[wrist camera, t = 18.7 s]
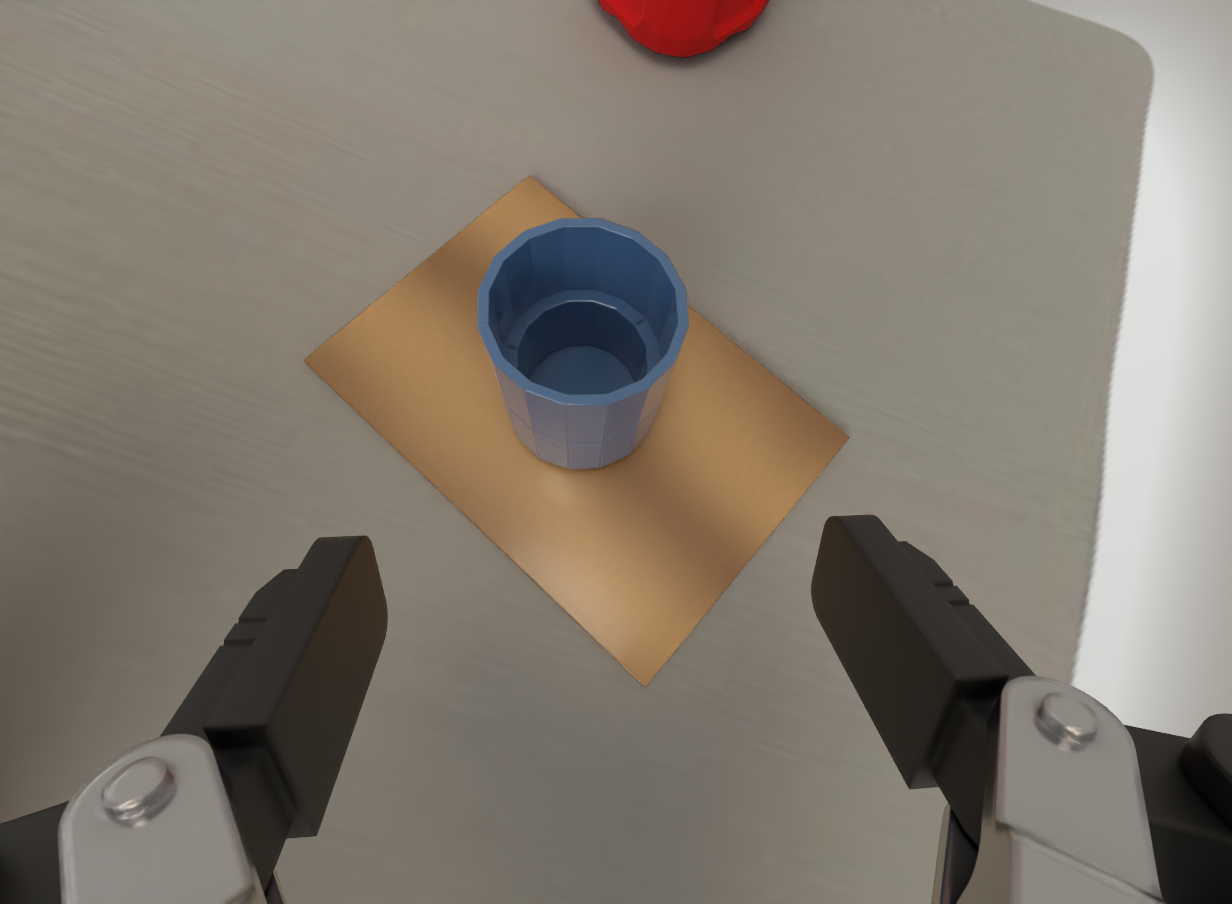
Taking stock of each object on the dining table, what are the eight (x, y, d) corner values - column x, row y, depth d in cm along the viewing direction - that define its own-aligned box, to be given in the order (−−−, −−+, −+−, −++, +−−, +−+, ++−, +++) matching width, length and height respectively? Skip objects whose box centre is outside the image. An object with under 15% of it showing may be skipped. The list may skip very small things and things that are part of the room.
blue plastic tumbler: (585, 503, 24) (589, 448, 17) (476, 403, 25) (432, 308, 17) (684, 398, 26) (729, 304, 18) (578, 308, 27) (579, 183, 19)
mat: (644, 686, 23) (645, 687, 22) (306, 363, 26) (302, 360, 25) (846, 439, 26) (850, 437, 26) (529, 180, 29) (529, 174, 29)
